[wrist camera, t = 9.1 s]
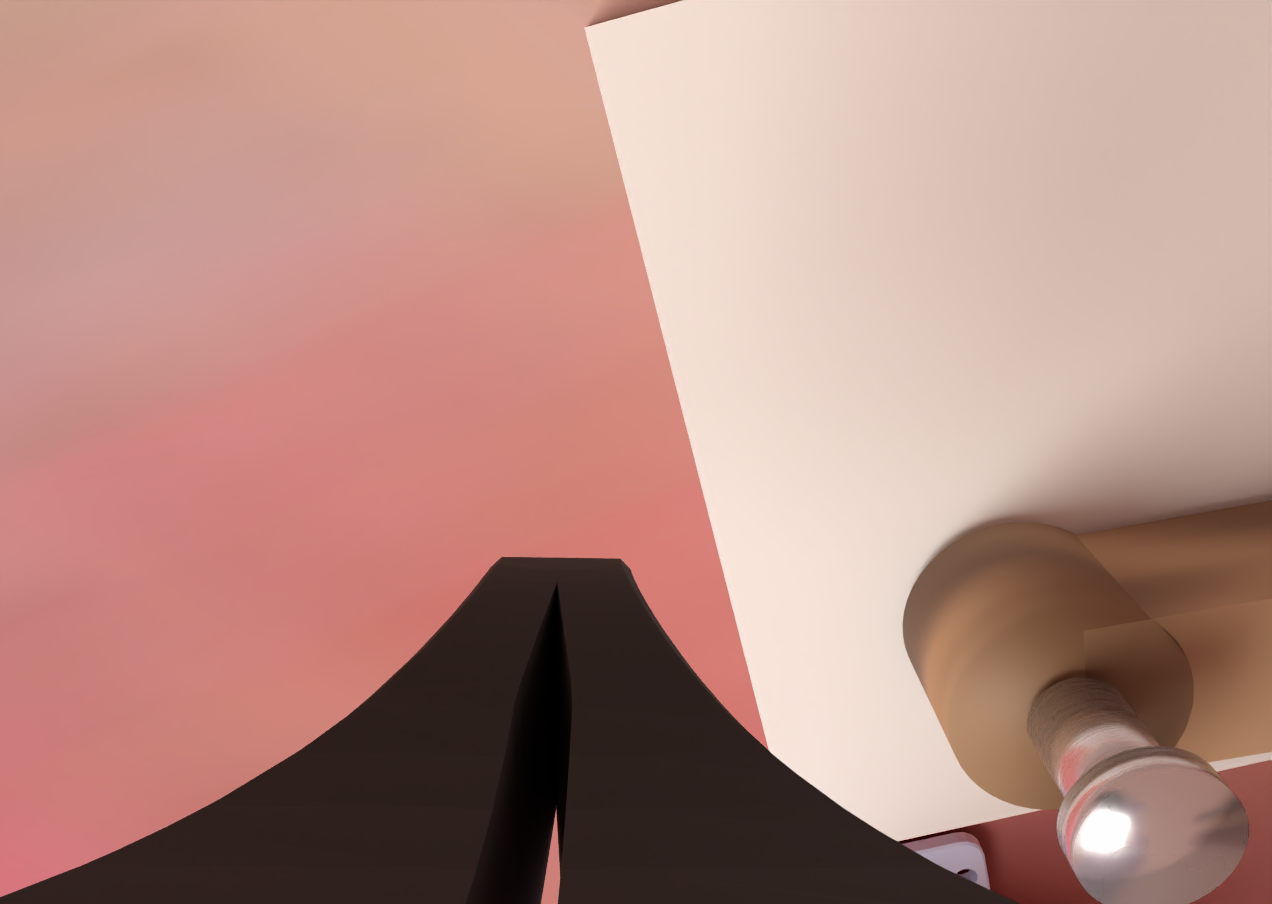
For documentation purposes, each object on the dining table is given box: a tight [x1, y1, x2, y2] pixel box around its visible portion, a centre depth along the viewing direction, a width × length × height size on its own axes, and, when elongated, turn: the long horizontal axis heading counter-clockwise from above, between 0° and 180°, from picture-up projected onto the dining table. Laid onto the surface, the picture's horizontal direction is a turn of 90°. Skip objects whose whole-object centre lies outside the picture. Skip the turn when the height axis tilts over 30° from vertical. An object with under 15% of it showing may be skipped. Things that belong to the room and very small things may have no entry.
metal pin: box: [1026, 677, 1249, 904], centre depth 16 cm, size 2×2×3 cm
